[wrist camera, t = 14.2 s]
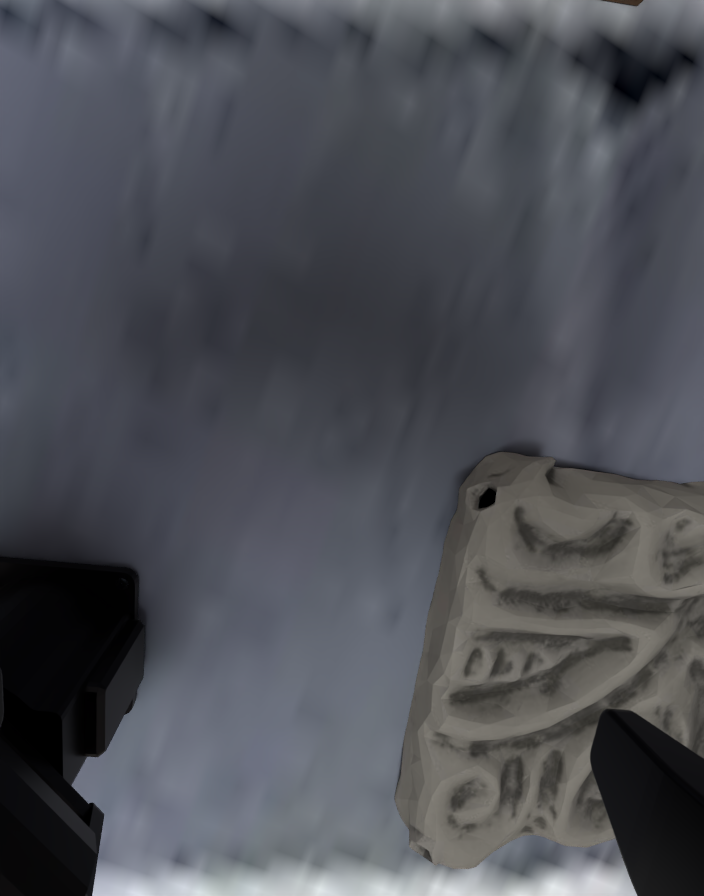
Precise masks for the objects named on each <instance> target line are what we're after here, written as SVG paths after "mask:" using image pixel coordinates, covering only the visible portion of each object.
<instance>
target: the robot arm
mask: <svg viewBox="0 0 704 896" xmlns="http://www.w3.org/2000/svg"><path fill="white" fill-rule="evenodd" d="M120 578H123V579H126V580H127V581H128V584H129V585H123V584H122V583H121V582H120V580H119V579H120ZM138 589H139V579H138V575H137V574H136V572H135V571H133V570H132V569H129V568H123V567H112V566H100V565H88V564H76V563H65V562H53V561H41V560H30V559H18V558H6V557H0V896H92V892H93V886H94V879H95V873H96V866H97V859H98V853H99V846H100V839H101V833H102V826H103V820H104V813H103V812H102V811H101V810H100V809H99V808H98V807H97V806H96V805H95V804H94V803H89V804H88V803H87V802H86V801H85V800H84V799H83V798H82V797H81V795H80V794H79V793H78V792H77V791H76V790H75V789H74V788H73V787H72V786H71V785H72V783H73V782H74V780H75V778H76V776H77V774H78V773H79V771H80V769H81V767H82V765H83V763H84V762H85V760H86V758H87V756H88V757H99V756H100V755H101V754H103V753H104V752H105V751H106V750H107V748H108V746H109V744H110V742H111V740H112V738H113V736H114V734H115V732H116V730H117V728H118V726H119V724H120V722H121V720H122V718H123V716H124V715H125V714H127V713H129V712H130V711H131V710H132V708H133V706H134V704H135V701H136V691H137V689H138V687H139V685H140V683H141V681H142V679H143V675H144V638H145V626H144V624H143V623H142V621H141V620H138ZM590 763H591V768H592V772H593V775H594V777H595V780H596V783H597V786H598V789H599V792H600V795H601V798H602V800H603V803H604V806H605V809H606V812H607V815H608V818H609V821H610V823H611V826H612V829H613V832H614V835H615V838H616V841H617V843H618V846H619V849H620V852H621V855H622V858H623V861H624V863H625V866H626V869H627V871H628V874H629V877H630V879H631V882H632V884H633V886H634V889H635V891H636V893H637V896H704V758H702V757H701V756H699V755H698V754H696V753H695V752H693V751H692V750H690V749H689V748H687V747H686V746H684V745H683V744H681V743H680V742H678V741H677V740H675V739H674V738H672V737H671V736H669V735H668V734H666V733H665V732H663V731H662V730H660V729H659V728H657V727H656V726H654V725H653V724H651V723H650V722H648V721H647V720H645V719H644V718H642V717H641V716H639V715H638V714H636V713H635V712H633V711H631V710H625V709H611V708H608V709H605V710H603V711H602V713H601V714H600V717H599V721H598V724H597V728H596V732H595V736H594V739H593V743H592V747H591V751H590Z"/></svg>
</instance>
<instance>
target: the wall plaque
mask: <svg viewBox="0 0 704 896" xmlns="http://www.w3.org/2000/svg"><path fill="white" fill-rule="evenodd" d="M555 462H556V460H555V459H553V458H552V457H528V456H524V455H520V454H517V453H509V452H498V453H495V454H492V455H488V456H486V457H485V458H484V459H483V460H482V461H481V462H480V463H479V464H478V465H477V466H476V467H475V468H474V470H473V471H472V472H471V474H470V475H469V476H468V477H467V479H466V480H465V481H464V483H463V484H462V485H461V487H460V488H459V497H458V507H457V511H456V513H455V514H454V516H453V518H452V520H451V523H450V526H449V530H448V533H447V536H446V539H445V542H444V548H443V555H442V560H441V565H440V570H439V574H438V578H437V581H436V585H435V590H434V594H433V598H432V602H431V605H430V609H429V613H428V618H427V623H426V630H425V639H424V647H423V653H422V657H421V661H420V665H419V669H418V674H417V678H416V684H415V690H414V695H413V699H412V704H411V708H410V713H409V718H408V723H407V727H406V732H405V737H404V744H403V756H402V766H401V776H400V779H399V782H398V784H397V788H396V793H395V802H396V806H397V809H398V811H399V814H400V816H401V819H402V820H403V822H404V823H405V824H406V826H407V827H408V829H409V847H410V848H412V849H413V850H414V851H416V852H417V853H419V854H420V855H422V856H423V857H425V858H426V859H428V860H429V861H430V862H432V863H433V864H434V865H437V864H439V863H440V864H442V865H445V866H448V867H451V868H453V869H469V868H473V867H476V866H477V865H478V864H480V863H481V862H482V861H483V860H484V859H485V858H487V857H488V856H489V855H490V854H491V853H492V852H494V851H496V850H497V849H499V848H500V847H502V846H504V845H505V844H507V843H508V842H510V841H512V840H514V839H517V838H519V837H521V836H525V835H538V836H542V837H545V838H548V839H550V840H552V841H555V842H557V843H560V844H562V845H565V846H574V847H590V846H593V845H596V844H599V843H602V842H605V841H609V840H612V839H616V838H615V835H614V832H613V829H612V826H611V823H610V821H609V818H608V815H607V812H606V809H605V806H604V803H603V800H602V798H601V795H600V792H599V789H598V786H597V783H596V780H595V777H594V775H593V772H592V768H591V763H590V751H591V747H592V743H593V739H594V736H595V732H596V728H597V724H598V721H599V717H600V714H601V713H602V711H603V710H605V709H608V708H611V709H625V710H631V711H633V712H635V713H636V714H638V715H639V716H641V717H642V718H644V719H645V720H647V721H648V722H650V723H651V724H653V725H654V726H656V727H657V728H659V729H660V730H662V731H663V732H665V733H666V734H668V735H669V736H671V737H672V738H674V739H675V740H677V741H678V742H680V743H681V744H683V745H684V746H686V747H687V748H689V749H690V750H692V751H693V752H695V753H696V754H698V755H699V756H701V757H702V758H704V482H690V483H684V484H678V483H674V482H667V481H659V480H652V481H649V480H634V479H631V478H627V477H624V476H620V475H616V474H610V473H602V472H594V471H588V470H581V469H574V468H559V467H553V466H554V464H555ZM488 488H491V489H492V490H494V491H495V492H497V493H496V500H495V503H494V504H492V505H490V506H489V507H486V508H480V509H479V501H480V499H481V498H482V496H483V495H484V494H485V492H486V491H487V489H488Z"/></svg>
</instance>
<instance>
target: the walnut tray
mask: <svg viewBox="0 0 704 896" xmlns="http://www.w3.org/2000/svg"><path fill="white" fill-rule="evenodd" d="M605 1H611V2H617V3H623V4H629V5H635V6H638V5H639V4H640V3H641V2H642V1H643V0H605Z"/></svg>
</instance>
